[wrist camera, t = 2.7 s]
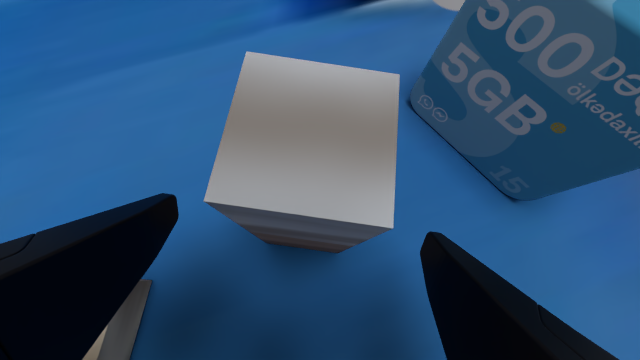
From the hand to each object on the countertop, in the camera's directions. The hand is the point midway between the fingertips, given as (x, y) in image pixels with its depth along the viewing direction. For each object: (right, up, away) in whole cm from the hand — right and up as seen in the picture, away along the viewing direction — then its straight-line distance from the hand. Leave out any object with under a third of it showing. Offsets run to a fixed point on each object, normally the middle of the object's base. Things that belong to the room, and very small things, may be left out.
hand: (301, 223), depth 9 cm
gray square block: (0, -1, +10) cm, 10 cm away
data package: (+13, +5, +13) cm, 19 cm away
